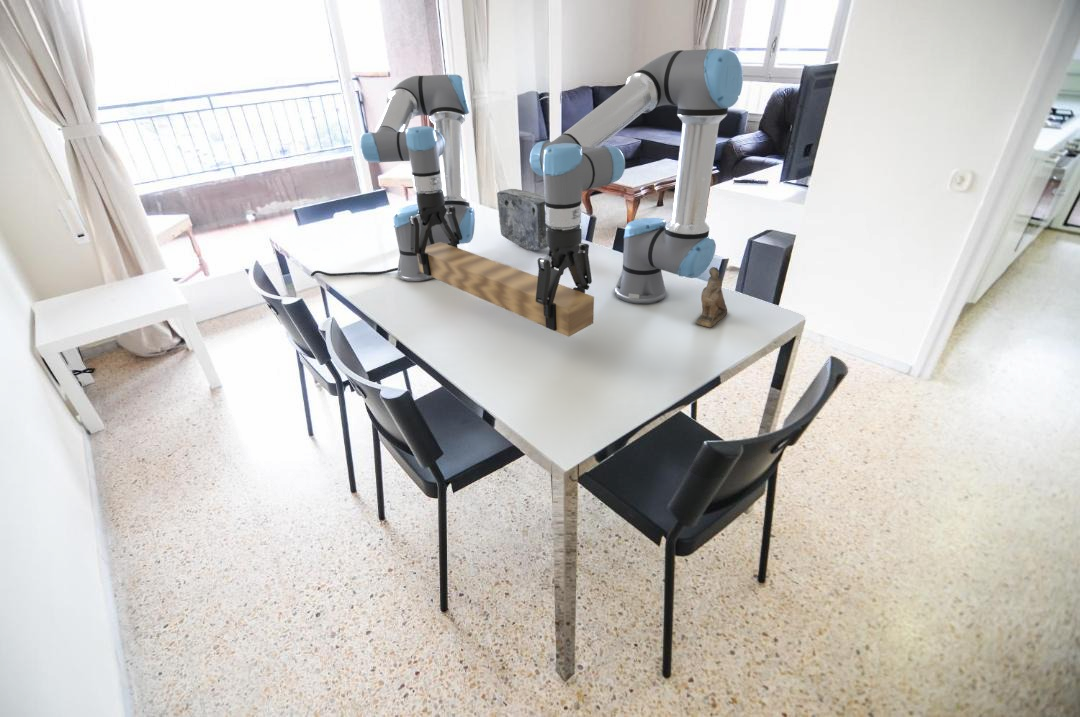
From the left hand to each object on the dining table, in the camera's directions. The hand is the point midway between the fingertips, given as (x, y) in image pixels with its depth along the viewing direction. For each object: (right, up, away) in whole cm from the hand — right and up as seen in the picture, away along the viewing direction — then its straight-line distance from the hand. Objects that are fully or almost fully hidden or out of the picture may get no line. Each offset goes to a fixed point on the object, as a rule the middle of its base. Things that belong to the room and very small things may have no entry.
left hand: (441, 269), depth 145 cm
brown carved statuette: (+77, -15, -5) cm, 79 cm away
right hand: (+35, -17, -30) cm, 49 cm away
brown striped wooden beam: (+17, -9, -15) cm, 25 cm away
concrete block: (+24, +18, +52) cm, 60 cm away
